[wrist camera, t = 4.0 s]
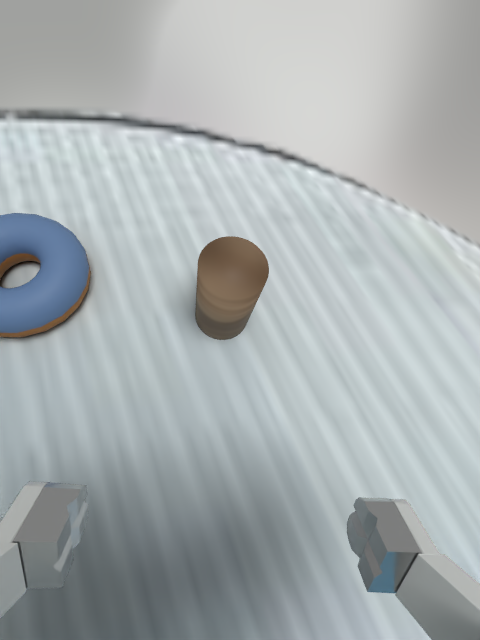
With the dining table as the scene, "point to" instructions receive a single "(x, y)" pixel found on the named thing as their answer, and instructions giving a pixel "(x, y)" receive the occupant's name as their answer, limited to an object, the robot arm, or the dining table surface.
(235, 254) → the brown wooden cylinder
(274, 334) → the dining table surface
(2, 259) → the doughnut
